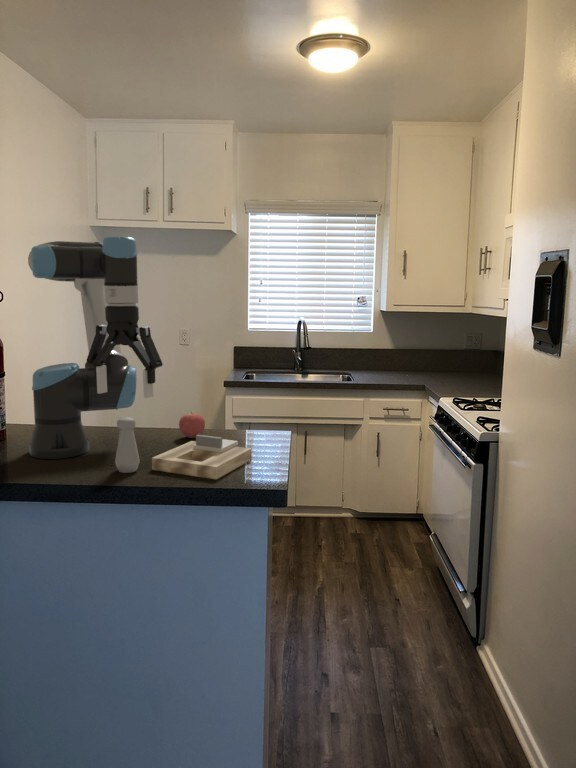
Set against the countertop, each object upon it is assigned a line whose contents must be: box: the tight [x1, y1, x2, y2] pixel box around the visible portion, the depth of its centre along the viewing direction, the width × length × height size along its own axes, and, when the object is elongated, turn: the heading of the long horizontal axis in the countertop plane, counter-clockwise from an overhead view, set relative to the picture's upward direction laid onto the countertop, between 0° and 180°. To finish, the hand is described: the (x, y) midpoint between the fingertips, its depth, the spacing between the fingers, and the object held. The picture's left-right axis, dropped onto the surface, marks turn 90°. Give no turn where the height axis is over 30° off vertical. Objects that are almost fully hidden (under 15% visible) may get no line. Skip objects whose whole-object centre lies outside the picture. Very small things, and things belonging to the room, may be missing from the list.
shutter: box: [193, 434, 239, 453], centre depth 162 cm, size 8×8×4 cm
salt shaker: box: [114, 416, 141, 474], centre depth 151 cm, size 6×6×13 cm
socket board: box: [151, 440, 252, 480], centre depth 157 cm, size 18×18×3 cm
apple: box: [178, 411, 206, 439], centre depth 183 cm, size 7×7×8 cm
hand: (125, 395), depth 149 cm, fingers open, 13 cm apart
